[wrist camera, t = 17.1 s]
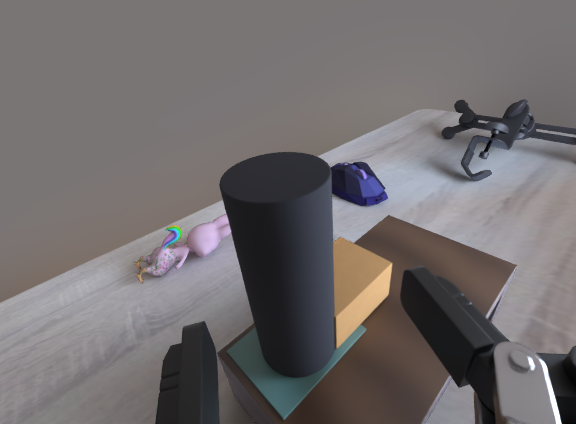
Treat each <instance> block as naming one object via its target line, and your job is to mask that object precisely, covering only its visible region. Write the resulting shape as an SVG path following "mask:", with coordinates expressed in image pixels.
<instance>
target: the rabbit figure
mask: <svg viewBox="0 0 576 424" xmlns="http://www.w3.org/2000/svg"><path fill="white" fill-rule="evenodd" d="M166 230H168V231H172V232H171V233H170V234H169V235H168V236H167V237H166V238H165V239H164V241H163V244H162V246H161V247H158V248H156V249H155V250H154V251H153V252H152V253H151V254H150V255H148V256H142V257H141V258H140V259H139V261H138V262H137V263H136V262H134V261H133V262H134V263H135V266H136V267H137V268H138V269H139V272H140V269H141V267H140V262H142V261H144V262H146V263H147V264H148V265H149V267H147V268H143V269H141V270H142V271H141V272H140V274H139V275H138V274H137V273H134V274H136V275H137V278H138V279H139V281H140V282H142V281H143V279H142V274H143V273H144V272H147V273H150V274H151V275H153V276H156V277H159V276H162V275H164V274H165V273H166V272H167V271H168V270H169V269H170V268H171V266H172V265H173V264H174V263H175V262H177V261H180V262H179V263H178V264H177V265H176V266H175V268H176V269H179V268H180V267H181V266H182V264H183V263H184V261H185V260H186V258H187V255H188V253H189V252H191V251H193V252H194V253H195V254H197V255H198V256H199V257H205V256H207V255H208V254H209V253H211V252H212V251H213V250H214V249H216V248H217V246H218V244H219V241H220V240H222V239H223V238H225V237H226V236H227V235H229V234H230V233H231V229H230V225H229V221H228V217H227V214H224V215H222V216H220V217H218V218H216V219H215V220H214V221H213V222H211V223H203V224H200V225H198V226H196V227H194V228H193V229H192V230H191V231H190V233H189V235H188V243H187V244H183V243H180V242H178V240H179V239H180V238H181V235H182V231H181V228H180V227H179V226H176V225H173V226H170V227H168V228H167V229H166ZM170 244H174V245H176V246H177V247H176V248H173V249H171V248H167V246H168V245H170ZM142 283H144V281H143V282H142ZM142 283H141V284H142Z"/></svg>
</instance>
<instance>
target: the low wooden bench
mask: <svg viewBox="0 0 576 424" xmlns="http://www.w3.org/2000/svg"><path fill="white" fill-rule="evenodd" d="M354 244H356V245H358V246H360V247H362V248H364V249H366V250H368V251H370V252H372V253H374V254H376V255H378V256H380V257H382V258H384V259H386V260H388V261H390V262H392V271H391V279H390V287H389V295H388V296H387V297H386V298H385V299H384V300H383V301H382V302H381V303H380V304H379V305H378V306H377V307H376V308H375V309H374V310H373V312H372V313H371V314H370V315H369V316H368V317H367V318H366V319H365V320H364V321H363V322H362V323H361V324H360V325H359V326H358V327H357V328H356V329H355V331H354V332H353V333H352V334H351V335H350V336H349V337H348V338H347V339H346V340H345V341H344V342H343V343H342V344H341V345H340V346H339V347H338V348H337V349H334V353H333V355H332V357H331V359H330V361H329V362H328V363H327V364H326V366H324V367H323V368H322V369H321V370H320V371H318V372H316V373H314V374H312V375H309V376H306V377H298V378H296V377H288V376H284V375H282V374H280V373H278V372H276V371H275V370H273V369H272V368H271V367H270V366H269V365H268V364H267V362H266V361H265V359H264V357H263V355H262V351H261V347H260V343H259V339H258V335H257V331H256V327H255V323H254V324H253V325H251V326H250V327H249V328H248V329H246V330H245V331H244V332H243V333H241V334H240V335H239V336H238V337H236V338H235V339H234V340H233V341H232V342H230V343H229V344H228V345H227V346H225V347H224V348H223V349H222V350H220V351H219V352H218V353H217V354H218V357H219V359H220V362H221V364H222V366H223V369H224V372H225V374H226V377H227V379H228V382H229V384H230V387H231V389H232V392H233V394H234V396H235V398H236V399H237V400H238V402H239V403H240V404H241V405H242V407H243V408H244V409H245V411H246V412H247V413H248V415H249V416H250V417H251V419H252V420H253V421H254V422H255V424H425V423H426V421H427V420H428V418H429V416H430V415H431V413H432V411H433V410H434V408H435V406H436V405H437V403H438V401H439V400H440V398H441V396H442V395H443V393H444V391H445V390H446V388H447V386H448V385H449V383H450V381H451V379H452V377H451V376H450V374H449V373H448V371H447V370H446V369H445V367H444V366H443V364H442V363H441V361H440V360H439V359H438V357H437V356H436V354H435V353H434V351H433V350H432V349H431V347H430V346H429V344H428V343H427V341H426V340H425V339H424V337H423V336H422V334H421V333H420V332H419V330H418V329H417V327H416V326H415V324H414V323H413V322H412V320H411V319H410V317H409V316H408V314H407V313H406V312H405V310H404V308H403V306H402V304H401V300H400V291H401V285H402V278H403V272H404V271H405V270H407V269H411V268H415V267H419V266H425V267H426V268H427V269H428V270H429V271H430V272H431V273H432V274H433V275H434V276H439V275H440V276H442V277H443V278H445V279H447V280H449V281H450V282H452V283H453V284H454V285H455V286H456V287H457V288H458V289H459V290H460V291H461V292H462V293H463V295H464V296H466V297H467V298H468V299H469V300H470V301H471V303H472V305H473V304H474V305H475V306H476V307H477V309H478V310H479V311H480V312H481V313H482V314H483V315H484V316H485V317H486V318H487V319H488V320H489V321H490V322H492V320H493V319H494V317H495V315H496V313H497V312H498V309H499V307H500V305H501V302H502V300H503V298H504V295H505V293H506V291H507V288H508V286H509V284H510V281H511V279H512V277H513V274H514V272H515V270H516V268H517V265H515V264H512V263H510V262H507V261H505V260H502V259H499V258H497V257H494V256H492V255H489V254H487V253H484V252H482V251H479V250H476V249H474V248H471V247H469V246H466V245H464V244H461V243H459V242H456V241H453V240H451V239H448V238H446V237H443V236H441V235H438V234H436V233H433V232H430V231H428V230H425V229H423V228H420V227H418V226H415V225H412V224H410V223H407V222H405V221H402V220H400V219H397V218H395V217H392V216H389V215H388V216H387V217H386V218H384V219H383V220H382V221H381V222H379V223H378V224H377V225H376V226H374V227H373V228H372V229H371V230H369V231H368V232H367V233H366V234H364V235H363V236H362V237H361V238H359V239H358V240H357V241H356V242H355V243H354Z"/></svg>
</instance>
